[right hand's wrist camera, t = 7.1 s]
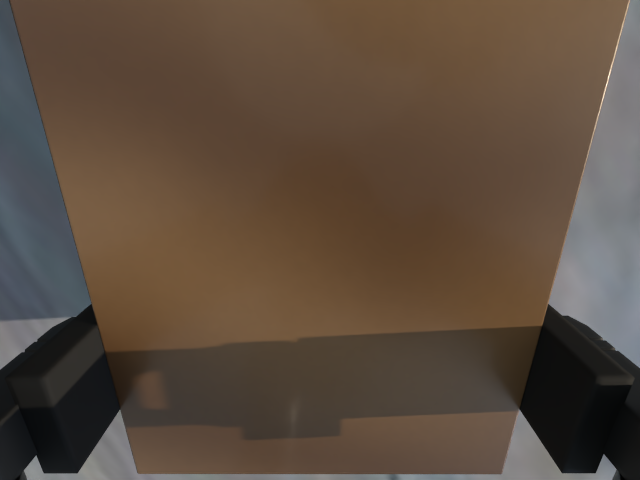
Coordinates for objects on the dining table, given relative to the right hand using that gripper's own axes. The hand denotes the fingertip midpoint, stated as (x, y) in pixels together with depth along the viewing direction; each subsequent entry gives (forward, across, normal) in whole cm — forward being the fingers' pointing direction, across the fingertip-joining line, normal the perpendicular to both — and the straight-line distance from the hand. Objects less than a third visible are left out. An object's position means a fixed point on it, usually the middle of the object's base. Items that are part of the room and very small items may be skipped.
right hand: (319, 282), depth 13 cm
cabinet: (+5, 0, -6) cm, 8 cm away
